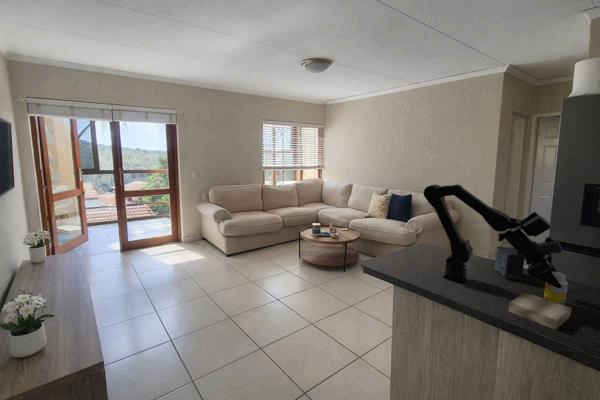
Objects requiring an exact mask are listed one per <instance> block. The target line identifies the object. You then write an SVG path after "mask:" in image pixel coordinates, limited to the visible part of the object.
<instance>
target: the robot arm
mask: <svg viewBox="0 0 600 400" xmlns="http://www.w3.org/2000/svg"><path fill="white" fill-rule="evenodd" d="M422 193H423V196H424V198H425V200H426V201H427V202H428V204H429V205H430V206H431V207H432V208H434V210H435V211H434V212H435V213H436V215H437V218H438V219H439V222H440V223H441V225H442V228H443V230H444V231H445V234H446V236H447V239H448V240H449V245H450V246H449V247H450V254H449V256H448V257H446V259H445V270H444V271H445V273H444V275H442V278H444V279H446V280H449V281H451V282H455V283H461V282H464V281H466V280H467V268H466V266H467V265H466V264H467V263H468V262H469V261H470V259H471V258H472V255H473V249H474V248H473V247H472V245H471V243H470V241H469V239H466V240H464V238H463V237H462V236H461V234H460V232H459V230H458V228H457V226H456V224H455V222H454V220H453V217H452V216H451V215H452V214H451V213H450V211H449V209H448V207H447V205H446V199H445V197H450V196H451V197H452V196H453V197H456V198H457V199H458V200H460V201H461V202H463V203H464V204H465V205H466V206H468V207H469V208H470V209H472V210H473V211H475V212H476V213H477V214H479V215H480V216H481V218H483V220H484V221H485V223H487V224H488V225H489V226H490V228H492V229H493V230H494V231H496V232H499V233H498V242H502V241H504V240H505V241H506V242H507V243H508V244H509V245H510V247H511V248H514V249H515V250H516V251H517V254H518V255H521V256H522V257H523V258H524V261H525V264H526V265H527V274H529V275H530V276H531V277H532V278H535V279H538V280H540V281H543V282H544V283H545V284H546V283H548V284H550V285H552V286H554V287H556V288H562V286H561V284H560V283H559V281H558V280H557V279H556V277H555V276H554V274H553V273H552V272H558V270H557V269H556V267H555V265H554V264H553V262H552V259H553V255H552V254H559V253H562V252H563V248H562V246H561V243H560V241H559V240H558V239H554V238H553V237H551V236H548V237H545V240H544V241H542V242H541V243H540V242H539V243H538V242H536V241H535V240H531V239H530V237H534V238H536V237H538V236H540V235H541V234H543V233H545V232H547V231H549V230H550V229H552V228H553V227H552V225H551V224H550V223H549V221H547V220H546V218H544V217H542V216H541V215H540V214H538V212H537V211H532V212H531V213H530V214H529V215H528V216H525V218H522V219H518V218H514V217H510V216H509V214H506V213H505V212H502V211H501V210H498V209H496V208H493V207H491V206H489V205H488V204H486V203H485V202H484V201H482V200H481V199H480V198H478V197H477V196H475V195H474V194H472V193H471V192H470V191H468V190H467V189H465V188H464V187H463V186H462V185H460V184H453V185H451V184H450V185H439V184H432V185H428V186H426V187H425V188H424V190H423V192H422Z"/></svg>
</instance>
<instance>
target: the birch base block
mask: <svg viewBox="0 0 600 400" xmlns="http://www.w3.org/2000/svg"><path fill="white" fill-rule="evenodd" d="M507 310H508V312H510V313H512V314H514V315H518V316H520V317H522V318H524V319H527V320H530V321H532V322H535V323H538V324H540V325H543V326H544V327H547V326H548V327H547V328H551V329H552V330H557V329H559V328H560V326H562V325H563V324H564V323H565V322H567V321H568V320H569V318H571V313H572V307H570V306H567V305H561V304H558V303H555V302H552V301H549V300H546V299H544V297H543V298H542V297H539V296H536V295H534V294H530V293H528V292H524V293H522V294H521V295H519V296H517V297H515V298H514V299H513V300H511V301H509V304H508V309H507ZM558 327H559V328H558Z"/></svg>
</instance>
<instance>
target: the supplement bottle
mask: <svg viewBox="0 0 600 400" xmlns="http://www.w3.org/2000/svg"><path fill="white" fill-rule="evenodd" d="M552 273H553V274H554V276H555V277H556V279H557V280H558V281H559V283H560V284H561V286H562V288H556V287H554V286H552V285H550V284H548V283H546V282H545V285H544V293H543V299H546V300H549V301H552V302H555V303H558V304H561V305H564V306H566V300H567V294H568V287H569V281H568V280H566V279H567V275H566V274H564V273H562V272H558V271H557V272H552Z"/></svg>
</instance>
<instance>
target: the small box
mask: <svg viewBox="0 0 600 400" xmlns="http://www.w3.org/2000/svg"><path fill="white" fill-rule="evenodd" d="M524 264H525V259H524V258H523V257H522V256H521V255H518V254H517V251H516V250H515V249H514V248H513V247H512V246H508V247H507V246H500V245H499V246H498V245H497V246H496V253H495V259H494V266H493V270H494V271H495V272H496V273H497V274H498V275H500V276H501V277H502V278H503V279H505V280H515V281H523V280H522V279H523V272H524Z"/></svg>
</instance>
